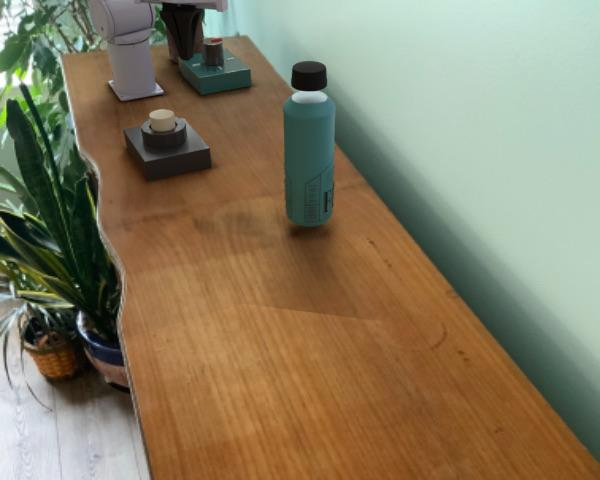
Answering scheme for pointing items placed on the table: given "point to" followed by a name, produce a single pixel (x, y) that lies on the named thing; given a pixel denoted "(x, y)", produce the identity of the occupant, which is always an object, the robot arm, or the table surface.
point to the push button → (162, 120)
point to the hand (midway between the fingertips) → (186, 58)
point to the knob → (212, 51)
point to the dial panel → (215, 73)
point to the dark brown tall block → (197, 42)
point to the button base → (167, 149)
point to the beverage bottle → (309, 147)
